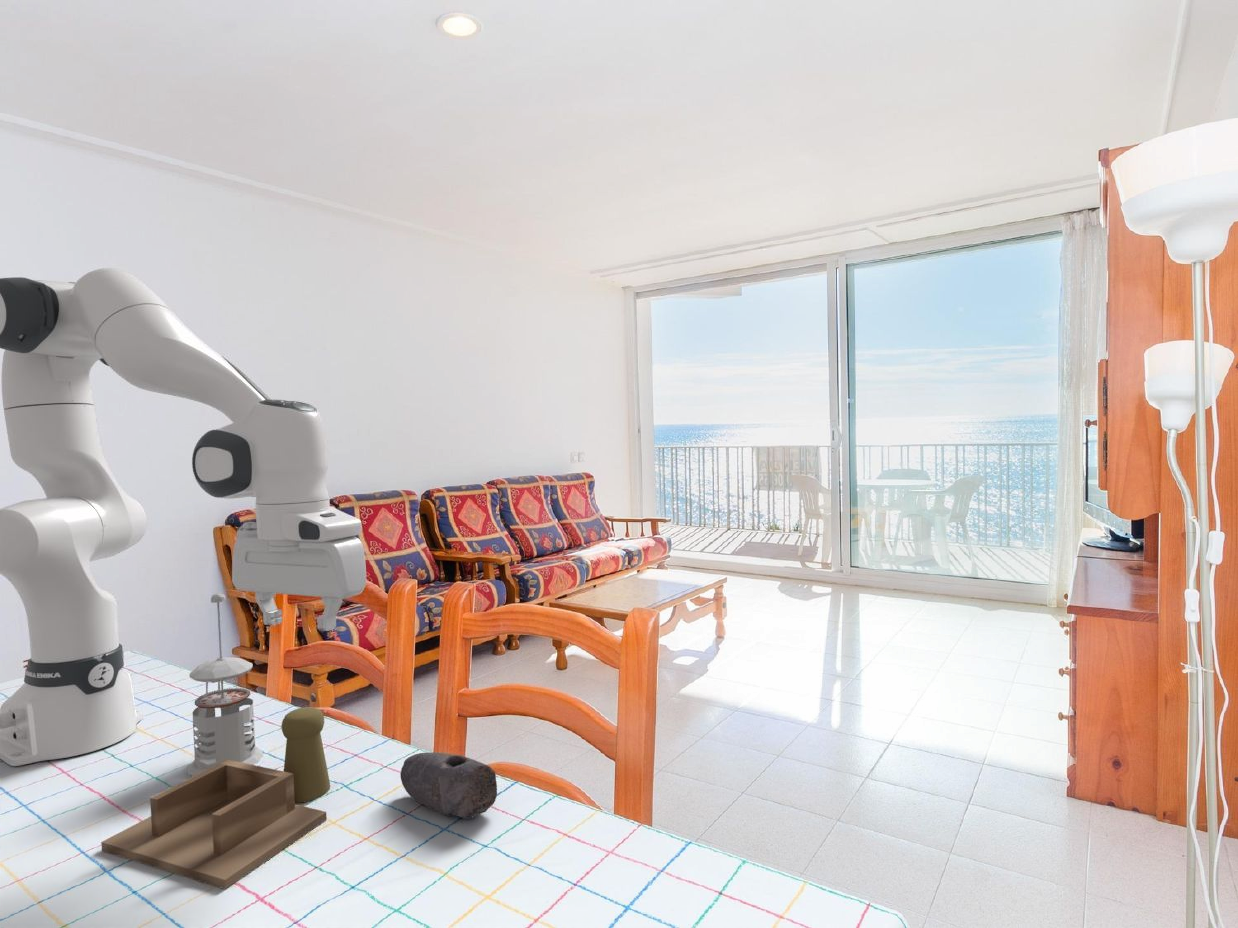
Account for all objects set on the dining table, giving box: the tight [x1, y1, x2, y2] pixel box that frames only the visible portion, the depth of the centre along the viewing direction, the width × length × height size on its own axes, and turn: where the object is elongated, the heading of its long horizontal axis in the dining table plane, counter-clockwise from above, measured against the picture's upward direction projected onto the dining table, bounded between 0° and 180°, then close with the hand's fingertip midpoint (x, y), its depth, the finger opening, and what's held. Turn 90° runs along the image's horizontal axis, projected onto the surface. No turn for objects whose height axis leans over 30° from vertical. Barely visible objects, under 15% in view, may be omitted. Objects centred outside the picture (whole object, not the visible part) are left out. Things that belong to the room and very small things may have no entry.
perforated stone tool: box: [400, 752, 498, 820], centre depth 89 cm, size 15×5×7 cm, turn 57°
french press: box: [187, 592, 264, 777], centre depth 103 cm, size 10×12×25 cm
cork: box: [280, 706, 331, 804], centre depth 94 cm, size 6×6×11 cm
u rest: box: [100, 760, 327, 890], centre depth 84 cm, size 20×14×6 cm
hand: (299, 626), depth 93 cm, fingers open, 8 cm apart
